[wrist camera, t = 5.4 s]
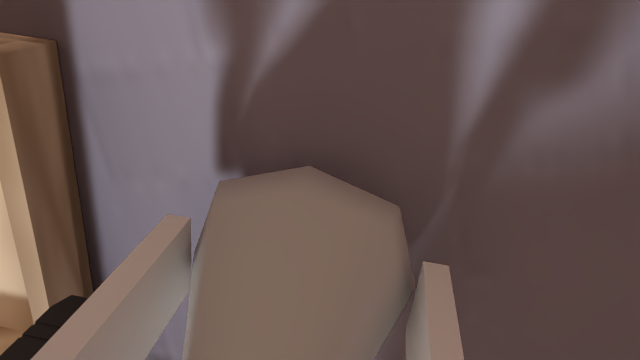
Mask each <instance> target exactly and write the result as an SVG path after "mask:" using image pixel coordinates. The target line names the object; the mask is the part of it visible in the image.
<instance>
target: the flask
mask: <svg viewBox="0 0 640 360" xmlns="http://www.w3.org/2000/svg"><path fill="white" fill-rule="evenodd" d="M415 287H416V285H415V281H414V276H413V271H412V266H411V261H410V256H409V251H408V246H407V241H406V236H405V231H404V226H403V221H402V216H401V211H400V206H397V205H395V204H393V203H391V202H389V201H386V200H384V199H382V198H380V197H377V196H375V195H373V194H371V193H369V192H366V191H364V190H362V189H360V188H358V187H355V186H353V185H351V184H349V183H347V182H344V181H342V180H340V179H338V178H335V177H333V176H331V175H329V174H327V173H324V172H322V171H320V170H318V169H316V168H313V167H311V166H305V167H299V168H293V169H288V170H282V171H276V172H270V173H264V174H259V175H253V176H247V177H241V178H236V179H230V180H224V181H219V183H218V186H217V189H216V192H215V195H214V198H213V201H212V203H211V206H210V209H209V212H208V215H207V218H206V221H205V223H204V226H203V229H202V232H201V235H200V238H199V241H198V243H197V246H196V249H195V252H194V259H193V266H192V275H191V285H190V296H189V306H188V317H187V327H186V334H185V341H184V348H183V355H182V360H374V359H375V357H376V355H377V354H378V352H379V350H380V348H381V347H382V345H383V343H384V342H385V340H386V338H387V337H388V335H389V333H390V331H391V330H392V328H393V326H394V325H395V323H396V321H397V319H398V318H399V316H400V314H401V313H402V311H403V309H404V308H405V306H406V304H407V302H408V300H409V298H410V296H411V294H412V293H413V291H414V289H415Z"/></svg>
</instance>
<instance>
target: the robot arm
mask: <svg viewBox="0 0 640 360" xmlns="http://www.w3.org/2000/svg"><path fill="white" fill-rule="evenodd" d="M190 285H191V218H187V217H181V216H176V215H170V214H167V215H166V216H165V217H164V218H163V219H162V220H161V221H160V223H159V224H158V225H157V226H156V227H155V228H154V229H153V230H152V231H151V232H150V233H149V234H148V235H147V236H146V237H145V239H144V240H143V241H142V242H141V243H140V244H139V245H138V246H137V247H136V248H135V249H134V250H133V251H132V252H131V253H130V254H129V256H128V257H127V258H126V259H125V260H124V261H123V262H122V263H121V264H120V265H119V266H118V267H117V268H116V269H115V270H114V271H113V273H112V274H111V275H110V276H109V277H108V278H107V279H106V280H105V281H104V282H103V283H102V284H101V285H100V286H99V287H98V288H97V290H96V291H95V292H94V293H93V294H92V295H91V296H90V297H89V298H85V297H80V296H75V295H70V296H69V297H67V298H65V299H63V300H61V301H60V302H58V303H56V304H54V305H52V306H51V307H50V308H49V309H48V310H47V311H46V312H44V313H43V314H42V315H41V316H40V317H39V318H38V319H37V320H36V321H35V324H34V325H31V326H30V327H29V328H28V329H27V330H26V331H25V332H24V333H23V334H22V337H21V338H20V337H19V338H18V339H17V340H16V341H15V342H14V343H13V344H12V345H11V346H9V347H8V348H7V349H6V350H5V351H4V352H3V353H2V354H1V355H0V360H145V358H146V357H147V355H148V354H149V352H150V351H151V349H152V348H153V346H154V344H155V343H156V341H157V340H158V338H159V337H160V335H161V334H162V332H163V331H164V329H165V328H166V326H167V324H168V323H169V321H170V320H171V318H172V317H173V315H174V314H175V312H176V311H177V309H178V308H179V306H180V304H181V303H182V301H183V300H184V298H185V297H186V295H187V294H188V292H189V291H190ZM405 335H406V360H464V356H463V349H462V343H461V337H460V331H459V325H458V319H457V313H456V306H455V300H454V294H453V288H452V282H451V276H450V270H449V266H446V265H441V264H436V263H430V262H425V261H423V264H422V268H421V272H420V276H419V279H418V283H417V287H416V291H415V295H414V299H413V303H412V307H411V311H410V314H409V318H408V322H407V326H406V330H405Z"/></svg>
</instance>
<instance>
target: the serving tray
mask: <svg viewBox="0 0 640 360" xmlns="http://www.w3.org/2000/svg"><path fill="white" fill-rule="evenodd" d="M93 293H94V292H93V286H92V279H91V272H90V266H89V259H88V252H87V246H86V239H85V232H84V226H83V219H82V212H81V205H80V199H79V192H78V185H77V179H76V172H75V165H74V159H73V152H72V145H71V138H70V132H69V125H68V118H67V112H66V105H65V98H64V92H63V85H62V78H61V72H60V65H59V58H58V51H57V45H56V41H55V40H48V39H41V38H35V37H28V36H21V35H15V34H8V33H1V32H0V355H1V354H2V353H3V352H4V351H5V350H6V349H7V348H8V347H9V346H11V345H12V344H13V343H14V342H15V341H16V340H17V339H18V338H19V337H20V338H21V337H22V334H23V333H24V332H25V331H26V330H27V329H28V328H29V327H30V326H31V325H34V324H35V321H36V320H37V319H38V318H39V317H40V316H41V315H42V314H43V313H44V312H46V311H47V310H48V309H49V308H50V307H51V306H52V305H54V304H56V303H58V302H60V301H61V300H63V299H65V298H67V297H69V296H70V295H75V296H80V297H85V298H89V297H90V296H91V295H92V294H93Z"/></svg>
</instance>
